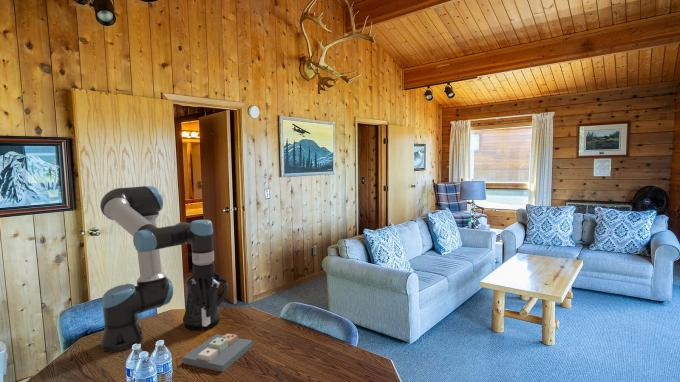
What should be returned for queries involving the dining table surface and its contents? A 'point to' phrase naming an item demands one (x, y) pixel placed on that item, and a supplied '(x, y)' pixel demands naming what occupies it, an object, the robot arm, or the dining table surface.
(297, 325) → the dining table surface
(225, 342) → the pale green block
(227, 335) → the pink square block
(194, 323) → the beer stein
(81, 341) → the dining table surface
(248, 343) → the button board
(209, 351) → the cream square block
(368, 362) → the dining table surface
